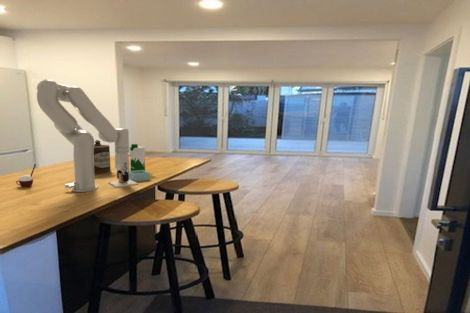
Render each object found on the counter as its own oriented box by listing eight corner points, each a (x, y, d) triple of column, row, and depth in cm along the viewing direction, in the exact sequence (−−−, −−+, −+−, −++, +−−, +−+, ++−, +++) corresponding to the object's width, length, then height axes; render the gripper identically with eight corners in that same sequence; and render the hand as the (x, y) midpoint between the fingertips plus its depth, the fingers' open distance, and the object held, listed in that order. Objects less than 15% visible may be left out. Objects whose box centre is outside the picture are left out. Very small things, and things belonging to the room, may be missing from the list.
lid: (116, 187, 165) (116, 176, 164) (108, 183, 174) (108, 172, 173) (137, 184, 173) (137, 173, 172) (129, 180, 182) (128, 170, 181)
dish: (134, 182, 179) (133, 174, 178) (127, 179, 186) (127, 171, 185) (149, 180, 185) (149, 172, 185) (142, 177, 193) (142, 169, 192)
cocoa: (15, 188, 161) (11, 166, 159) (22, 184, 167) (19, 164, 165) (33, 187, 162) (30, 166, 159) (40, 184, 168) (37, 163, 165)
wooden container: (96, 175, 195) (94, 141, 192) (82, 172, 202) (80, 140, 199) (115, 171, 208) (114, 140, 205) (101, 169, 215) (100, 138, 212)
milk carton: (128, 173, 205) (127, 144, 202) (140, 171, 211) (140, 143, 208) (135, 175, 199) (134, 145, 196) (147, 173, 205) (146, 144, 202)
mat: (115, 188, 164) (115, 187, 164) (107, 183, 174) (107, 183, 174) (138, 185, 173) (138, 184, 173) (129, 180, 182) (129, 180, 182)
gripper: (109, 148, 174) (111, 178, 177) (121, 152, 161) (122, 183, 164) (122, 147, 179) (123, 176, 182) (134, 151, 166) (135, 181, 169)
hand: (122, 179), depth 173 cm, fingers open, 8 cm apart
